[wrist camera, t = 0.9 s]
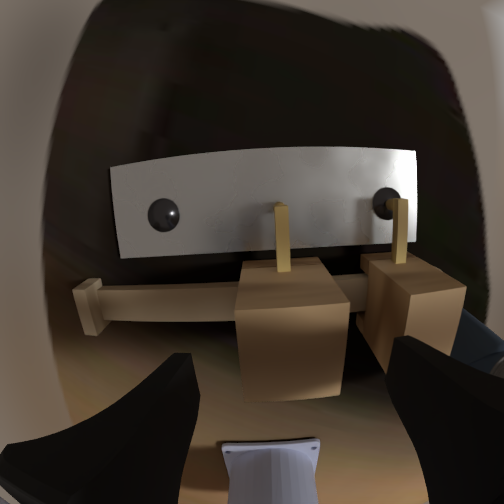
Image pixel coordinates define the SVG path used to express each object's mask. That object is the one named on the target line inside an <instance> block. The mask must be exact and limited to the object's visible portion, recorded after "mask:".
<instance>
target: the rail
mask: <svg viewBox="0 0 504 504" xmlns="http://www.w3.org/2000/svg"><path fill="white" fill-rule="evenodd" d="M435 268H436V267H435ZM437 269H438V268H437ZM438 270H440V269H438ZM440 271H442V270H440ZM332 277H333V279H334V280H335V282H336V283H337V284H338V286H339V287H340V289H341V290H342V292H343V293H344V294H345V296H346V297H347V299H348V300H349V302H350V311H349V312H358V311H365V310H366V300H367V288H368V275H367V274H366V273H362V274H349V275H336V276H332ZM238 287H239V282H219V283H194V284H164V285H121V286H102V281H101V278H90V279H87V280H86V281H84V282H83V283H81V284H80V285H78V286H77V287H75V288H74V289H72V291H73V295H74V299H75V303H76V306H77V310H78V313H79V317H80V320H81V323H82V327H83V330H84V333H85V335H93V336H98V335H99V334H100V333H101V332H102V331H103V330H104V328H105V327H106V326H107V325H108V324H109V323H110V322H111V320H118V321H156V322H198V321H235V313H234V309H235V304H236V298H237V292H238Z"/></svg>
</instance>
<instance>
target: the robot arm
mask: <svg viewBox="0 0 504 504" xmlns="http://www.w3.org/2000/svg"><path fill="white" fill-rule="evenodd" d="M385 383H386V386H387V389H388V392H389V395H390V398H391V400H392V403H393V405H394V407H395V409H396V411H397V413H398V415H399V417H400V419H401V421H402V423H403V425H404V427H405V429H406V431H407V433H408V435H409V437H410V439H411V441H412V443H413V445H414V447H415V450H416V452H417V455H418V458H419V461H420V465H421V468H422V471H423V475H424V479H425V483H426V487H427V492H428V497H429V503H430V504H504V378H500V377H497V376H494V375H491V374H488V373H486V372H483V371H480V370H478V369H475V368H473V367H471V366H469V365H467V364H464V363H462V362H460V361H458V360H456V359H454V358H452V357H450V356H448V355H446V354H445V353H443V352H441V351H439V350H437V349H435V348H433V347H431V346H430V345H428V344H426V343H424V342H422V341H420V340H418V339H416V338H414V337H412V336H409V335H406V336H400V337H395V338H394V341H393V346H392V351H391V355H390V360H389V365H388V369H387V373H386V377H385ZM199 402H200V392H199V388H198V383H197V379H196V375H195V370H194V365H193V361H192V356H191V353H174V354H172V355H171V356H170V357H169V358H168V359H167V360H166V361H165V362H163V363H162V364H161V365H160V366H159V367H158V368H157V369H156V370H155V371H154V372H152V373H151V374H150V375H149V376H148V377H147V378H146V379H144V380H143V381H142V382H141V383H140V384H139V385H137V386H136V387H135V388H134V389H132V390H131V391H130V392H128V393H127V394H126V395H125V396H123V397H122V398H121V399H119V400H118V401H117V402H115V403H114V404H112V405H111V406H109V407H108V408H106V409H104V410H103V411H101V412H99V413H98V414H96V415H94V416H93V417H91V418H89V419H87V420H85V421H82V422H80V423H78V424H76V425H74V426H72V427H70V428H68V429H65V430H62V431H60V432H57V433H55V434H51V435H48V436H45V437H41V438H38V439H34V440H29V441H24V442H19V443H13V444H7V445H6V447H5V448H4V450H3V451H2V452H1V454H0V485H1V486H2V487H3V488H4V489H5V490H6V491H7V492H8V493H9V494H10V495H11V496H12V497H14V498H15V499H16V500H17V501H18V502H19V503H20V504H178V497H179V490H180V483H181V476H182V472H183V468H184V464H185V460H186V457H187V453H188V450H189V446H190V443H191V439H192V436H193V432H194V429H195V425H196V421H197V417H198V410H199ZM319 448H320V440H319V439H306V440H295V441H283V442H264V443H224V444H222V448H221V449H222V453H223V457H224V460H225V464H226V468H227V471H228V475H229V478H230V483H229V493H228V504H318V498H317V491H316V484H315V478H314V474H315V469H316V464H317V459H318V454H319ZM0 504H9V503H8V502H7V501H5V500H4V499H3V498H1V497H0Z"/></svg>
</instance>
